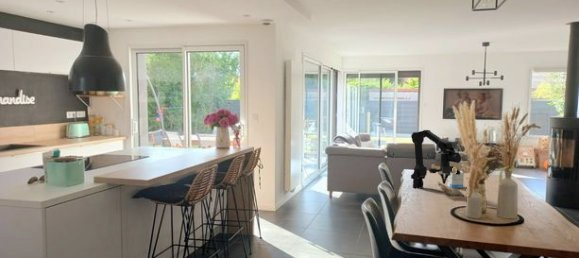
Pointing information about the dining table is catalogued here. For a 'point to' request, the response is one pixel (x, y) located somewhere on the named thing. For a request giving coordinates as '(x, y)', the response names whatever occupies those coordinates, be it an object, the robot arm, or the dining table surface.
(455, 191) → the tan wooden tile
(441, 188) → the plank front
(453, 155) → the robot arm
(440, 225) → the dining table surface
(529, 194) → the dining table surface
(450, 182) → the ink box
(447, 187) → the plank rear
